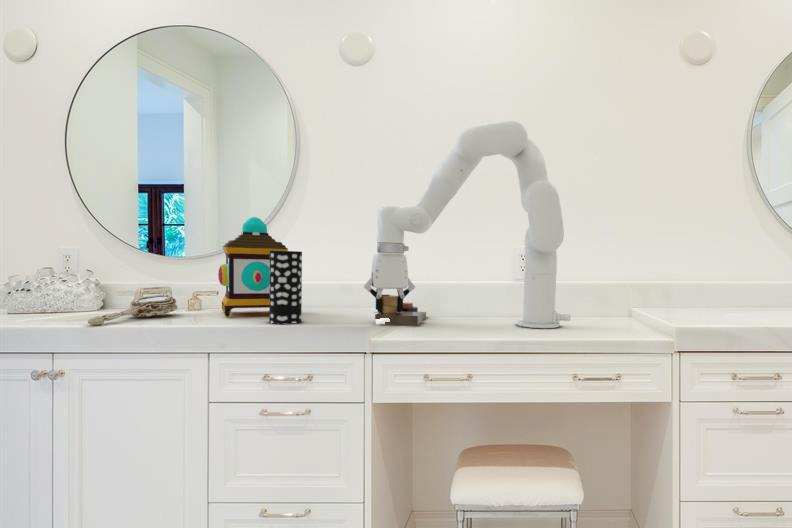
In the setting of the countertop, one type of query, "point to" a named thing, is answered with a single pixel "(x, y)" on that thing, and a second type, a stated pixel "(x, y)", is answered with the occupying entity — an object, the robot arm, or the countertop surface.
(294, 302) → the white-spotted black cylinder
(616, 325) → the countertop surface
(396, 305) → the knob
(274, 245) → the decorative lantern
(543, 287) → the robot arm
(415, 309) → the button block
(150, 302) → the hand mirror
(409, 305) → the button
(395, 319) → the panel
